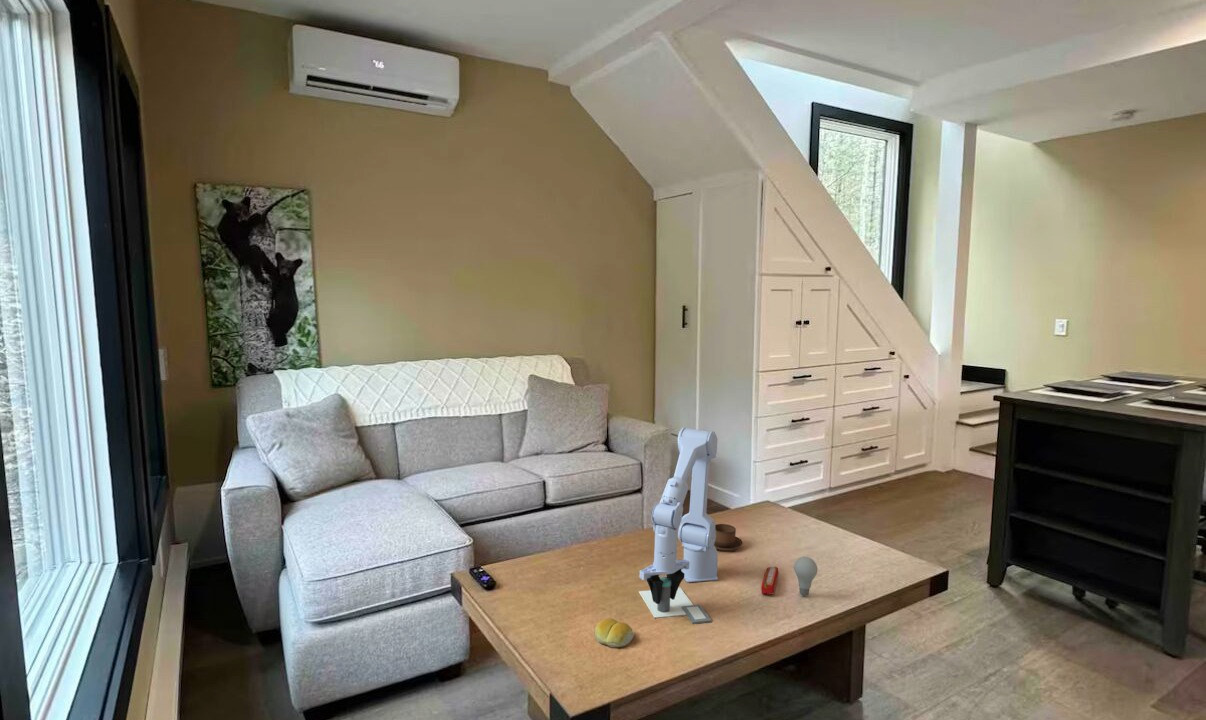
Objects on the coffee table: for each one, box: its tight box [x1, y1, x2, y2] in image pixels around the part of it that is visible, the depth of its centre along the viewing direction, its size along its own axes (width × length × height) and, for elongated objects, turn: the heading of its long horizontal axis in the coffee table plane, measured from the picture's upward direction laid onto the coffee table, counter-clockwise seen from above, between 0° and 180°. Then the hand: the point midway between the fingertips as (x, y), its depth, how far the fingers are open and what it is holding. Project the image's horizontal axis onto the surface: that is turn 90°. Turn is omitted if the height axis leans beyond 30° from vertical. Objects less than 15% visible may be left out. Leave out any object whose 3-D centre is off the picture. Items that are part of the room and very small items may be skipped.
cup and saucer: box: [714, 523, 743, 552], centre depth 206 cm, size 12×12×6 cm
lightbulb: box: [793, 556, 818, 597], centre depth 173 cm, size 6×6×11 cm
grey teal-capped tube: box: [657, 576, 671, 612], centre depth 164 cm, size 3×3×8 cm
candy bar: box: [760, 566, 780, 595], centre depth 180 cm, size 16×4×3 cm, turn 159°
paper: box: [638, 587, 694, 619], centre depth 169 cm, size 12×14×1 cm
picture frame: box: [682, 604, 713, 625], centre depth 162 cm, size 5×8×1 cm, turn 13°
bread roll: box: [594, 618, 634, 648], centre depth 151 cm, size 8×9×4 cm
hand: (663, 600), depth 164 cm, fingers open, 4 cm apart
